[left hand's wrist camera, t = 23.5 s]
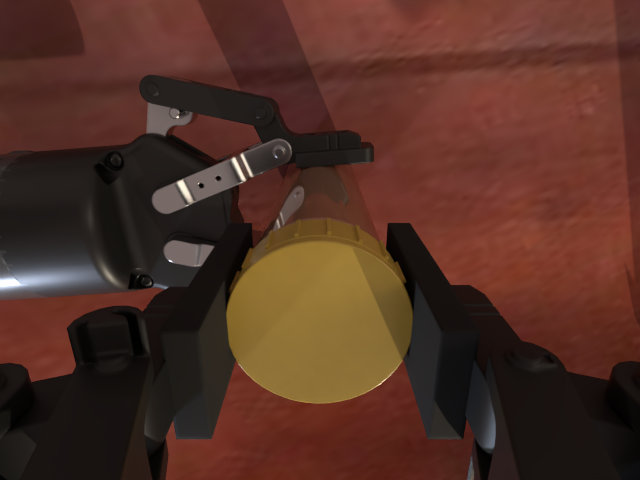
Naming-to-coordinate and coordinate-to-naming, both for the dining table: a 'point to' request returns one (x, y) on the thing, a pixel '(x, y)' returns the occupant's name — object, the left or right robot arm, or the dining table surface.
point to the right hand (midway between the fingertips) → (371, 201)
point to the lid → (319, 312)
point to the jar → (319, 199)
